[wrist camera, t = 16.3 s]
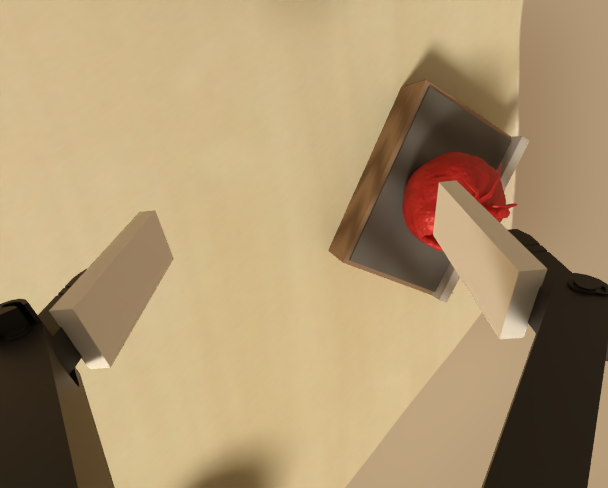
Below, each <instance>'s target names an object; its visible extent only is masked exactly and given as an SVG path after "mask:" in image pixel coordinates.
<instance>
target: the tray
mask: <svg viewBox="0 0 608 488" xmlns="http://www.w3.org/2000/svg"><path fill="white" fill-rule="evenodd" d="M528 143H529V140H527V139H526V138H524V137H523V136H517V137H511V136H510V135H508V134H507V133H505V132H504V131H502V130H501V129H499V128H498V127H496V126H495V125H493V124H492V123H490V122H489V121H487V120H486V119H484V118H483V117H481V116H480V115H478V114H477V113H475V112H474V111H472V110H471V109H469V108H468V107H466V106H465V105H463V104H462V103H460V102H459V101H457V100H456V99H454V98H453V97H451V96H450V95H448V94H447V93H446V92H444V91H443V90H441V89H440V88H438V87H437V86H435V85H434V84H432V83H431V82H429V81H428V80H424V81H420V82H417V83H414V84H411V85H407V86H404V87H401V89H400V91H399V94H398V96H397V98H396V100H395V103H394V105H393V107H392V109H391V112H390V114H389V116H388V118H387V121H386V123H385V125H384V127H383V130H382V132H381V134H380V136H379V139H378V141H377V143H376V145H375V147H374V150H373V152H372V154H371V156H370V159H369V161H368V163H367V165H366V168H365V170H364V172H363V174H362V177H361V179H360V181H359V183H358V186H357V188H356V190H355V192H354V195H353V197H352V199H351V201H350V204H349V206H348V208H347V210H346V212H345V215H344V217H343V219H342V221H341V224H340V226H339V228H338V230H337V233H336V235H335V237H334V239H333V242H332V244H331V246H330V248H329V252H331V253H332V254H333V255H334V256H336V257H337V258H338V259H339V260H341V261H342V262H343V263H346V264H348V265H351V266H354V267H357V268H359V269H362V270H365V271H368V272H370V273H373V274H376V275H378V276H381V277H384V278H387V279H389V280H392V281H395V282H398V283H400V284H403V285H406V286H409V287H411V288H414V289H417V290H419V291H422V292H425V293H428V294H430V295H432V296H434V297H436V298H437V299H439V300H441V301H444V302H447V301H448V299H449V297H450V295H451V293H452V291H453V289H454V287H455V285H456V284H457V282H458V280H459V278H460V276H459V275H458V273H457V272H456V270H455V269H454V267H453V265H452V264H451V262H450V261H449V259H448V258H447V256H446V255H445V253H444V252H441V251H439V250H435V249H433V248H432V247H430V246H428V245H427V244H425V243H423V242H421V241H420V240H419V239H417V238H416V237H415V236H414V235H412V234H411V232H410V230H409V229H408V227H407V225H406V222H405V220H404V217H403V211H402V204H403V197H404V192H405V188H406V185H407V183H408V181H409V179H410V177H411V176H412V174H413V173H414V172H415V171H416V170H418V169H419V168H420V167H421V166H422V165H423V164H425V163H427V162H429V161H430V160H432V159H433V158H435V157H438V156H440V155H443V154H446V153H449V152H462V153H466V154H469V155H472V156H477V157H479V158H482V159H483V160H484V161H486V163H487V164H488V165H489V166H491V167H493V168H494V169H495V170H496V172H497V170H498V167H499V166H500V165H501V164H502V166H501V168H500V180H501V182H502V187H503V191H504V190H505V188H506V186H507V184H508V182H509V180H510V178H511V176H512V174H513V172H514V170H515V168H516V166H517V164H518V162H519V160H520V159H521V157H522V155H523V153H524V151H525V149H526V147H527V145H528Z"/></svg>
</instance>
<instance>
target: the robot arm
mask: <svg viewBox="0 0 608 488" xmlns="http://www.w3.org/2000/svg"><path fill="white" fill-rule="evenodd" d="M433 236H434V237H435V239H436V240H437V242H438V244H439V245H440V247H441V248H442V250H443V251H444V253H445V255H446V256H447V258H448V259H449V261H450V262H451V264H452V265H453V267H454V269H455V270H456V272H457V273H458V275H459V276H460V278H461V280H462V281H463V283H464V284H465V286H466V287H467V289H468V291H469V292H470V294H471V295H472V297H473V298H474V300H475V302H476V303H477V305H478V306H479V308H480V309H481V311H482V313H483V314H484V316H485V317H486V319H487V320H488V322H489V324H490V325H491V327H492V328H493V330H494V331H495V333H496V335H497V336H498V338H499V339H508V338H522V337H524V335H525V332H526V330H527V327H528V324H529V325H530V326H531V327H532V329H533V330H534V331H535V333H536V336H535V338H534V341H533V344H532V346H531V349H530V352H529V355H528V358H527V361H526V364H525V366H524V369H523V372H522V375H521V378H520V381H519V384H518V386H517V389H516V392H515V395H514V398H513V400H512V403H511V406H510V409H509V412H508V414H507V417H506V420H505V423H504V426H503V429H502V432H501V434H500V437H499V440H498V443H497V446H496V448H495V452H494V454H493V457H492V460H491V463H490V465H489V468H488V471H487V474H486V477H485V479H484V482H483V485H482V488H587V486H588V478H589V471H590V465H591V458H592V451H593V444H594V437H595V429H596V422H597V415H598V409H599V401H600V394H601V387H602V381H603V374H604V366H605V361H608V285H607V284H606V283H604V282H602V281H601V280H599V279H597V278H594V277H591V276H588V275H584V274H578V273H572V272H571V271H569V270H568V269H567V268H566V267H565V266H564V265H563V264H562V263H561V262H559V261H558V260H557V259H556V258H555V257H554V256H553V255H552V254H551V253H549V252H547V250H546V249H545V248H544V247H543V246H540V244H539V243H538V242H537V241H536V240H535V239H534V238H533V237H531V236H530V235H528V234H526V233H524V232H522V231H520V230H518V229H512V230H507V229H506V228H505V227H504V226H503V225H502V224H501V223H500V222H499V221H498V220H497V219H495V218H494V217H493V216H492V215H491V214H490V213H489V212H488V211H487V210H486V209H485V208H484V207H483V206H482V205H481V204H480V203H479V202H478V201H477V200H476V199H475V198H474V197H473V196H472V195H471V194H470V193H469V192H468V191H467V190H466V189H465V188H464V187H463V186H462V185H460V184H459V183H458V182H457V181H456V180H455V181H445V182H439V185H438V194H437V203H436V212H435V221H434V230H433ZM173 259H174V258H173V256H172V253H171V251H170V248H169V245H168V243H167V240H166V238H165V235H164V232H163V230H162V227H161V225H160V222H159V219H158V217H157V214H156V212H155V211H146V212H139V213H138V214H137V215H136V216H135V217H134V219H133V220H132V221H131V222H130V223H129V224H128V225H127V226H126V227H125V228H124V229H123V231H122V232H121V233H120V234H119V235H118V236H117V237H116V238H115V239H114V240H113V241H112V243H111V244H110V245H109V246H108V247H107V248H106V249H105V250H104V251H103V252H102V253H101V255H100V256H99V257H98V258H97V259H96V260H95V261H94V262H93V263H92V264H91V265H90V267H89V268H88V269H85V270H84V271H82V272H81V273H80V274H78V275H77V276H75V277H74V278H73V279H72V280H71V281H70V282H69V283H68V284H67V285H66V286H65V288H63V289H62V290H61V291H60V292H59V294H58V296H56V297H55V298H54V299H53V300H52V301H51V302H50V303H49V304H48V305H47V306H46V307H45V308H44V309H43V311H42V312H41V313H40V314H39V315H37V314H36V313H35V311H34V310H33V309H32V307H31V306H30V304H29V303H28V302H27V301H26V300H24V299H16V300H11V301H8V302H5V303H2V304H0V488H114V484H113V481H112V478H111V474H110V471H109V468H108V465H107V461H106V458H105V455H104V451H103V448H102V445H101V442H100V438H99V435H98V432H97V428H96V425H95V422H94V419H93V415H92V412H91V409H90V405H89V402H88V399H87V396H86V392H85V389H84V386H83V382H82V379H81V376H80V373H79V372H78V371H77V369H76V368H75V366H76V365H77V363H78V362H79V361H80V359H81V358H82V359H83V361H84V362H85V364H86V365H87V366H88V368H89V369H97V368H111V366H112V364H113V362H114V361H115V359H116V357H117V355H118V354H119V352H120V350H121V348H122V347H123V345H124V343H125V342H126V340H127V338H128V336H129V335H130V333H131V331H132V329H133V328H134V326H135V324H136V323H137V321H138V319H139V317H140V316H141V314H142V312H143V310H144V309H145V307H146V305H147V303H148V302H149V300H150V298H151V297H152V295H153V293H154V291H155V290H156V288H157V286H158V284H159V283H160V281H161V279H162V278H163V276H164V274H165V272H166V271H167V269H168V267H169V265H170V264H171V262H172V260H173Z"/></svg>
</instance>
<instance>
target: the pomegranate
mask: <svg viewBox="0 0 608 488" xmlns="http://www.w3.org/2000/svg"><path fill="white" fill-rule="evenodd" d="M501 166H502V164H501V165H500V166H499V167H498V170H497V172H496V170H495V169H494V168H493V167H491V166H489V165H488V164H487V163H486V161H484V160H483V159H482V158H479V157H477V156H472V155H469V154H466V153H462V152H449V153H446V154H443V155H440V156H438V157H435V158H433V159H432V160H430V161H429V162H427V163H425V164H423V165H422V166H421V167H420V168H419V169H418V170H416V171H415V172H414V173H413V174H412V176H411V177H410V179H409V181H408V183H407V185H406V188H405V192H404V197H403V204H402V211H403V217H404V220H405V222H406V225H407V227H408V229H409V230H410V232H411V234H412V235H414V236H415V237H416V238H417V239H419V240H420V241H421V242H423V243H425V244H427V245H428V246H430V247H432V248H433V249H435V250H439V251H441V252H444V251H443V250H442V248H441V247H440V245H439V244H438V242H437V240H436V239H435V237H434V236H433V230H434V221H435V212H436V203H437V194H438V185H439V182H445V181H455V180H456V181H457V182H458V183H459V184H460V185H462V186H463V187H464V188H465V189H466V190H467V191H468V192H469V193H470V194H471V195H472V196H473V197H474V198H475V199H476V200H477V201H478V202H479V203H480V204H481V205H482V206H483V207H484V208H485V209H486V210H487V211H488V212H489V213H490V214H491V215H492V216H493V217H494V218H495V219H497V220H498V221H499V222H501V221H502V219H503V218H507V217H508V216H509V214H510V211H509V208H511V207H514V206H516V205H517V204H508V205H506V199H505V195H504V191H503V187H502V182H501V180H500V168H501Z"/></svg>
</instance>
